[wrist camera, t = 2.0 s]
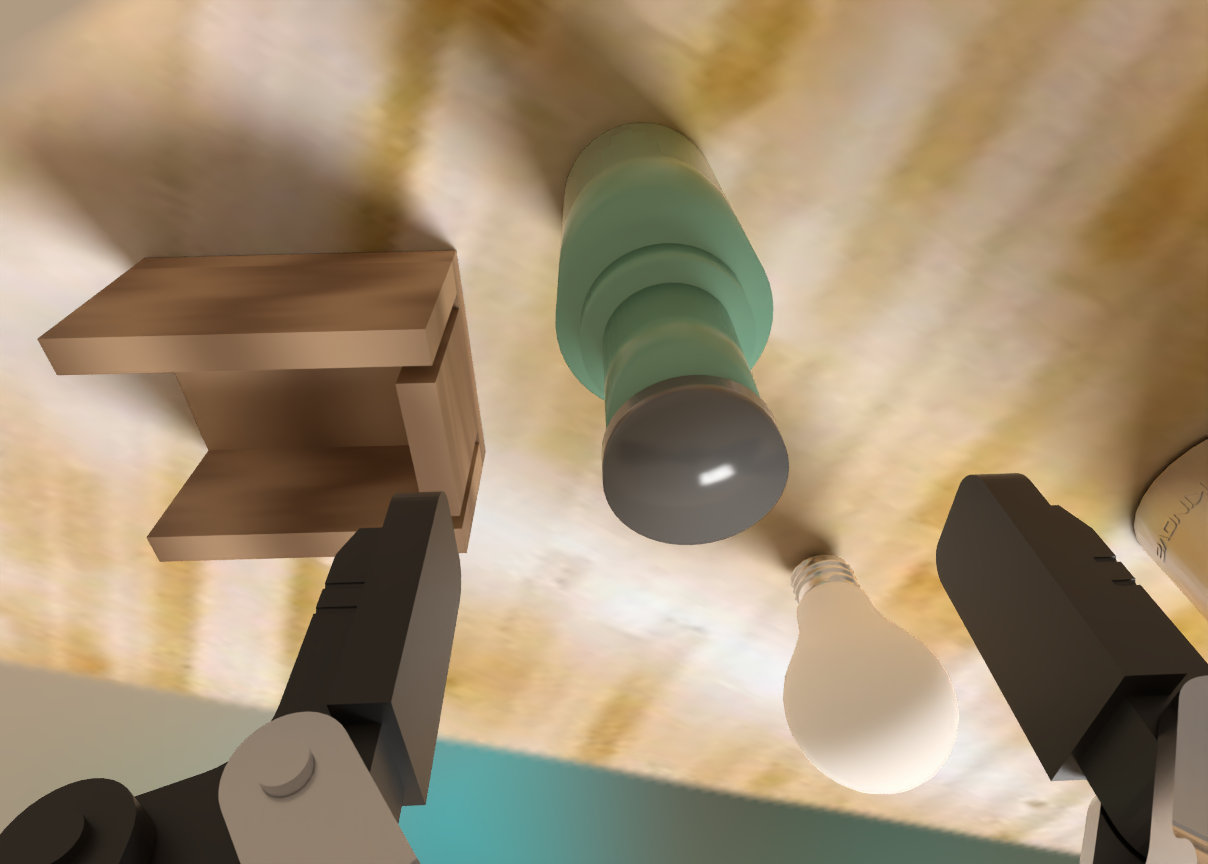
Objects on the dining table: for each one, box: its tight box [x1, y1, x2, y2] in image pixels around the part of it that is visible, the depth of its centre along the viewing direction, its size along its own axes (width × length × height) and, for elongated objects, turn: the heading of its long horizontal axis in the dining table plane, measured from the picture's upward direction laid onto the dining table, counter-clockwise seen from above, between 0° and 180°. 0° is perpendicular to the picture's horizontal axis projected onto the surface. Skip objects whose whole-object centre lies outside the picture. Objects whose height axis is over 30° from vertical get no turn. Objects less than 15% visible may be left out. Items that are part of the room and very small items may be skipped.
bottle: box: [556, 123, 789, 545], centre depth 18 cm, size 5×5×15 cm
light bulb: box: [783, 554, 959, 794], centre depth 30 cm, size 7×7×11 cm
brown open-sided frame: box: [38, 250, 485, 562], centre depth 25 cm, size 11×9×6 cm
